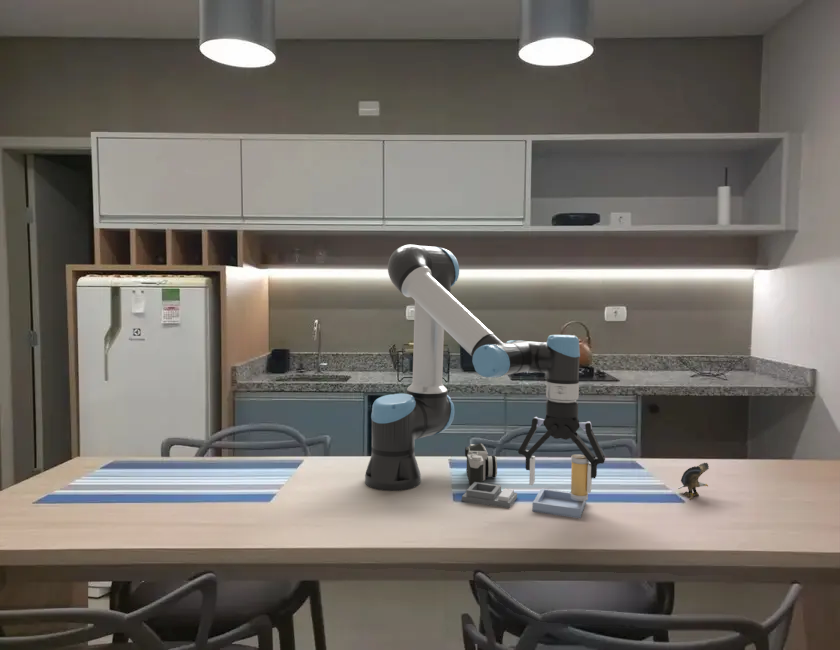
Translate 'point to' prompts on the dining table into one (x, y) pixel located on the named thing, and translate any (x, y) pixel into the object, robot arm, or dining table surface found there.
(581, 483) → the fuse
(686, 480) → the eagle figurine
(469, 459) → the camera
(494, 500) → the fuse block
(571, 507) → the parts tray
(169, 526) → the dining table surface
